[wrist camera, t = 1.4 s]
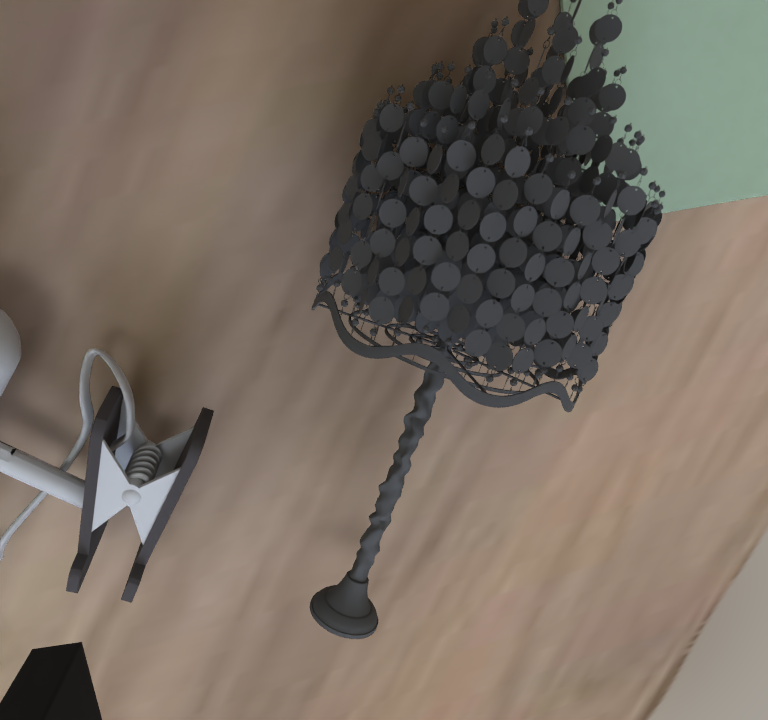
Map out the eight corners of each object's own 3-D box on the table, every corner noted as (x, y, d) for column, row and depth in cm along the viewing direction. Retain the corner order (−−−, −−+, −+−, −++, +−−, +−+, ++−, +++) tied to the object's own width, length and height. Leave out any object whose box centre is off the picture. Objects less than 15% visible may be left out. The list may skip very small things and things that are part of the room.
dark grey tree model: (232, 517, 30) (195, 678, 22) (410, -43, 25) (459, -139, 16) (442, 571, 32) (489, 742, 23) (655, 57, 26) (826, 21, 17)
